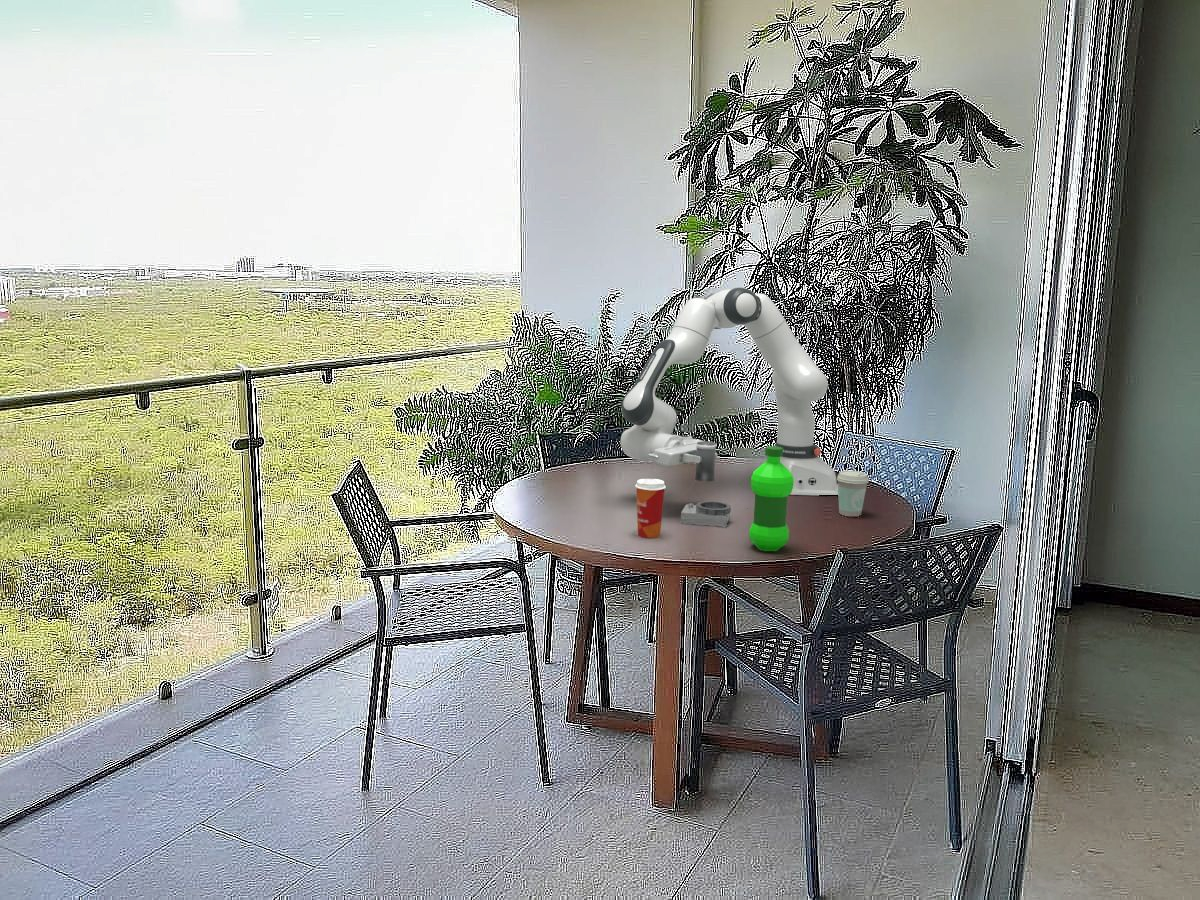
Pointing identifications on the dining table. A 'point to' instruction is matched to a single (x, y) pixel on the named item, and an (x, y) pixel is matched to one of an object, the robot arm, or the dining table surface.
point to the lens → (705, 461)
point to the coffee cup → (851, 492)
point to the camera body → (706, 513)
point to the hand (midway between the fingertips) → (708, 458)
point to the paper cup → (649, 507)
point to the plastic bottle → (771, 502)
